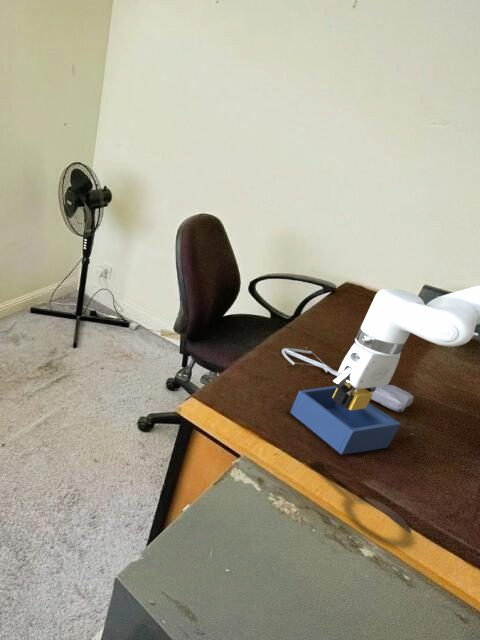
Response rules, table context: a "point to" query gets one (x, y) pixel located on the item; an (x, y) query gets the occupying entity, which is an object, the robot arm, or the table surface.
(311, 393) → the blue storage tray
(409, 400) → the stone block
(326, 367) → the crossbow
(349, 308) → the table surface
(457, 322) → the robot arm
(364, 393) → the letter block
